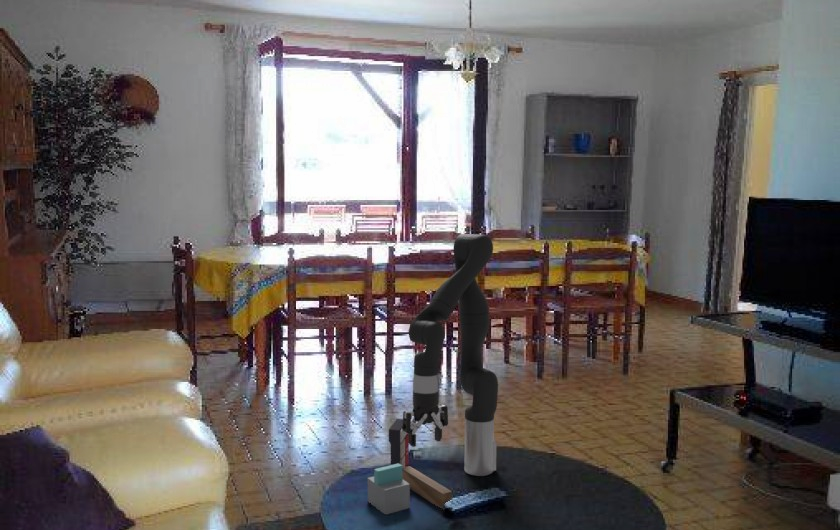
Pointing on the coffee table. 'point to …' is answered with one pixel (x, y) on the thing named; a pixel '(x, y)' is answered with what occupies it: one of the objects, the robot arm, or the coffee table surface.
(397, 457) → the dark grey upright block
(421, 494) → the walnut beam
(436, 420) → the robot arm
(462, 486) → the coffee table surface
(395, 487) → the balance stand
